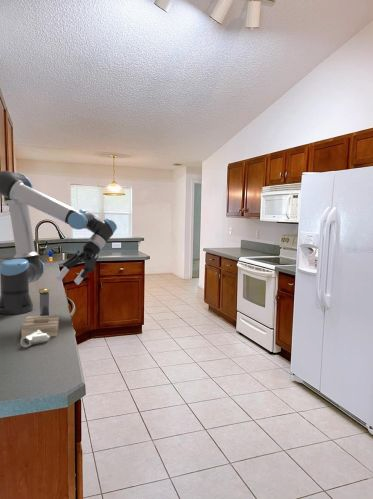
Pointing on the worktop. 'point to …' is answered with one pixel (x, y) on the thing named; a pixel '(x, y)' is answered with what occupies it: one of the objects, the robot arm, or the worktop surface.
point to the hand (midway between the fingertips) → (66, 281)
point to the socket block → (41, 325)
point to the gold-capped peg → (44, 301)
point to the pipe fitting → (34, 338)
